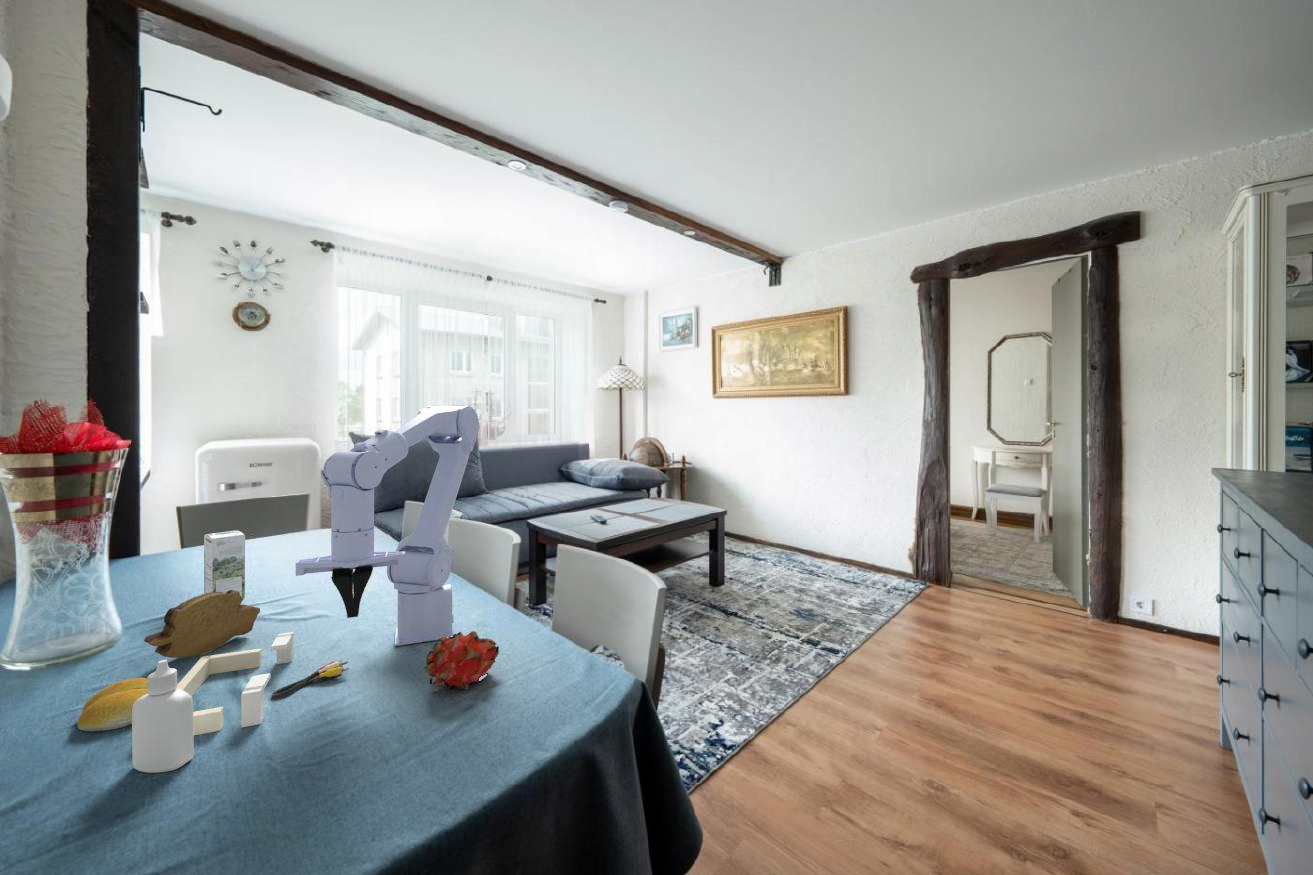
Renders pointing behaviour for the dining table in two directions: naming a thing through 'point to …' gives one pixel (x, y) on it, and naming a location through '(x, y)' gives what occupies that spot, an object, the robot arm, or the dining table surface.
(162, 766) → the eye dropper bottle
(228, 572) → the syrup box
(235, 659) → the end holder
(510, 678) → the dining table surface
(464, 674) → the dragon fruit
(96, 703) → the bread roll
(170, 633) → the wooden carving
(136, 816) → the dining table surface
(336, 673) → the composite cable
